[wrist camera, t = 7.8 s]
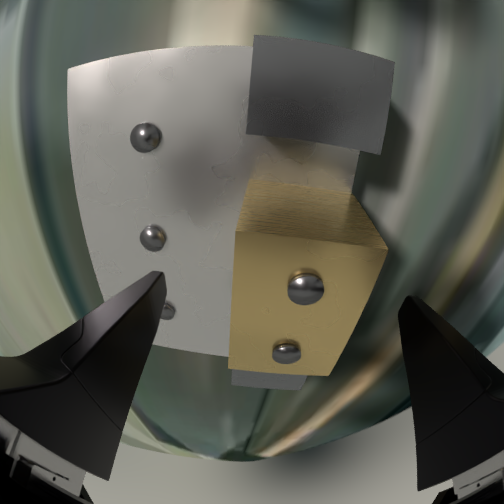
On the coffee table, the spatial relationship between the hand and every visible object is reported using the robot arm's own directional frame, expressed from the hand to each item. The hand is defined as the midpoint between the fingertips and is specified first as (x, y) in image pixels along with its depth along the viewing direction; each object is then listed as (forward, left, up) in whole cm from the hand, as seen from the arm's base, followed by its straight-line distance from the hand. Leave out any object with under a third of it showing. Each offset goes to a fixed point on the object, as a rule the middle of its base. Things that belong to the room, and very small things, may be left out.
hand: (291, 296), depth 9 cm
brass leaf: (0, 0, -3) cm, 3 cm away
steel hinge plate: (+4, 0, -4) cm, 6 cm away
